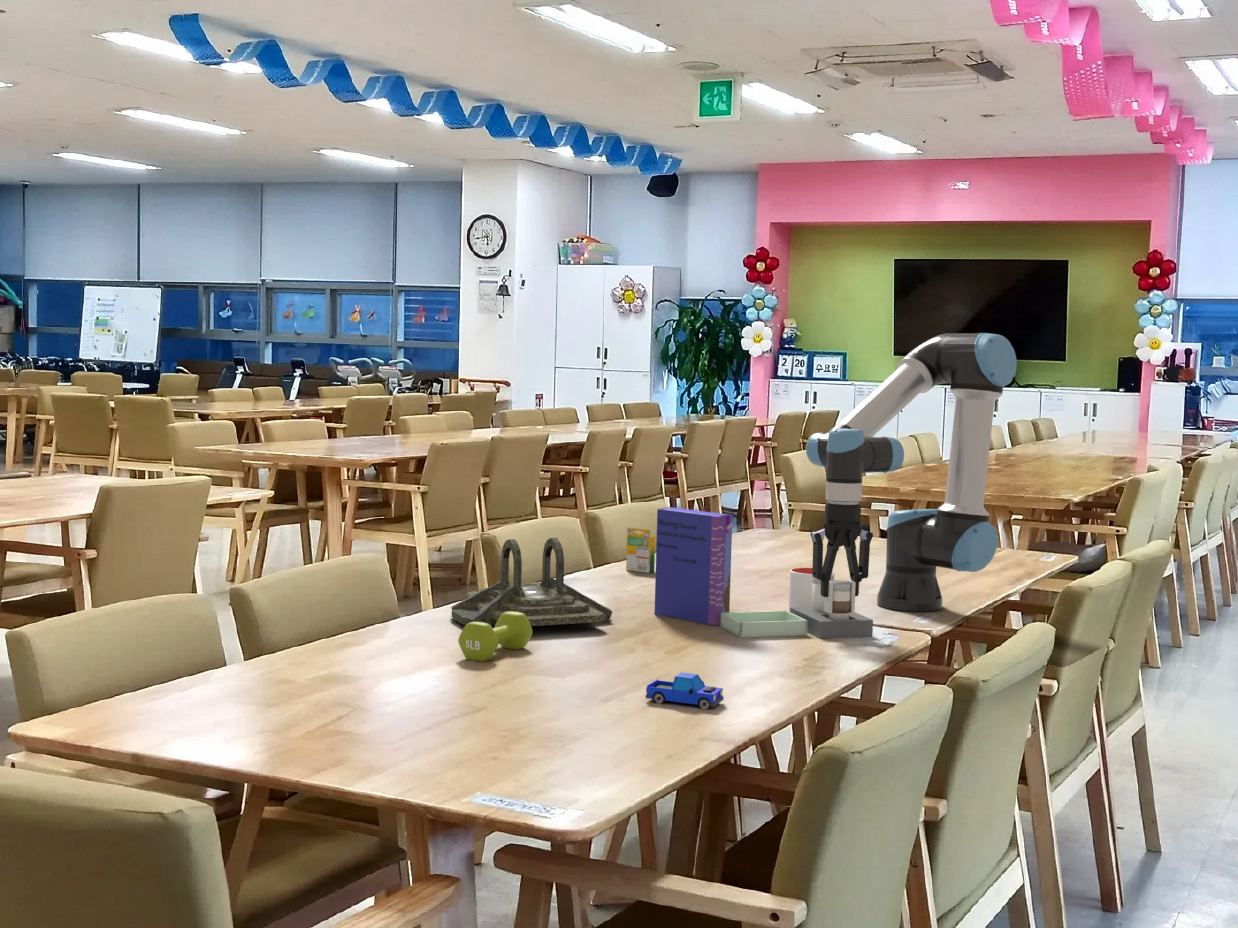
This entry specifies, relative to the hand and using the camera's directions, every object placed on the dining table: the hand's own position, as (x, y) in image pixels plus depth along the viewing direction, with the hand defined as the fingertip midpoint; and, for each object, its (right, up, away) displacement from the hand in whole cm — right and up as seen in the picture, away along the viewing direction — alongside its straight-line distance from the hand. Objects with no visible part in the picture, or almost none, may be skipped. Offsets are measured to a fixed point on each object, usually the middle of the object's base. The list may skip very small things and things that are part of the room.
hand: (838, 611), depth 292 cm
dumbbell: (-70, -6, -27) cm, 75 cm away
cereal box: (-31, -3, +12) cm, 33 cm away
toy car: (-36, -9, -61) cm, 71 cm away
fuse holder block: (-1, -4, +4) cm, 6 cm away
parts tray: (-16, -4, +1) cm, 16 cm away
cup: (-3, -3, +21) cm, 22 cm away
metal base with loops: (-66, -3, +7) cm, 66 cm away
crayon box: (-41, +2, +77) cm, 87 cm away
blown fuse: (0, -5, 0) cm, 5 cm away
